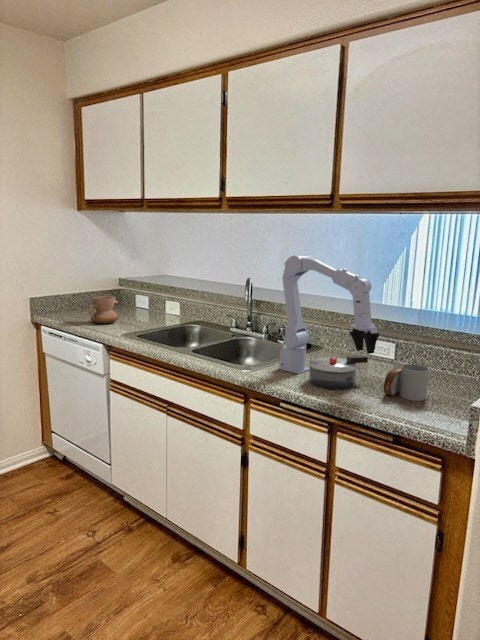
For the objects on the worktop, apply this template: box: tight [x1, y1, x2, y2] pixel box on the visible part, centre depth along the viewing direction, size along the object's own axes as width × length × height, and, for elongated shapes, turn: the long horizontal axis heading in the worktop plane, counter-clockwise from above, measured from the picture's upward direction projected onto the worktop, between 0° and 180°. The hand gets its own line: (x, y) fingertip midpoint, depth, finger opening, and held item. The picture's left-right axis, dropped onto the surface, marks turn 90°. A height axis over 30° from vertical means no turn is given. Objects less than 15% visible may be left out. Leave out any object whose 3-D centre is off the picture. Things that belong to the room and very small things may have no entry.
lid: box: [309, 354, 369, 373], centre depth 174 cm, size 21×16×3 cm
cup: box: [399, 363, 430, 402], centre depth 161 cm, size 8×8×10 cm
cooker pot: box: [308, 366, 357, 391], centre depth 176 cm, size 16×21×6 cm
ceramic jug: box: [88, 295, 119, 325], centre depth 265 cm, size 18×14×14 cm
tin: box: [383, 365, 402, 396], centre depth 165 cm, size 15×3×8 cm, turn 141°
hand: (365, 351), depth 170 cm, fingers open, 7 cm apart
